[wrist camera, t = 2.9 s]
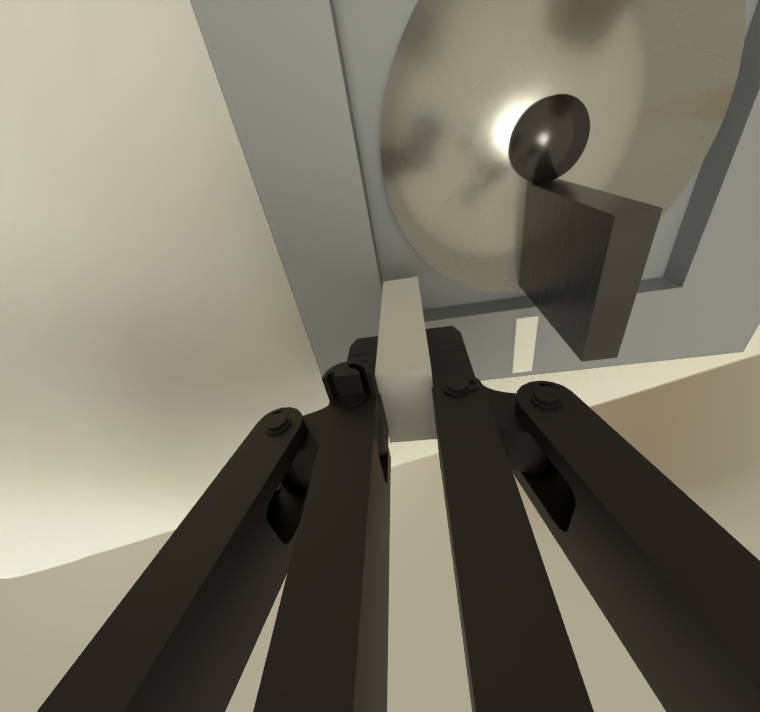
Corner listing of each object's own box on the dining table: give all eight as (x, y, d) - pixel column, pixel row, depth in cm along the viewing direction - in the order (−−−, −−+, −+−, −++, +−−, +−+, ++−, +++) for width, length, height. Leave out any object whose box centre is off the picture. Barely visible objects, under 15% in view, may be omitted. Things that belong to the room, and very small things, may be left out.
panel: (335, 371, 25) (328, 398, 22) (137, -254, 10) (51, -384, 8) (703, 327, 22) (746, 353, 19) (1164, -666, 7) (1609, -1125, 5)
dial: (401, 299, 19) (407, 390, 13) (351, -49, 12) (292, -313, 5) (651, 263, 18) (815, 346, 11) (790, -175, 10) (1692, -870, 3)
